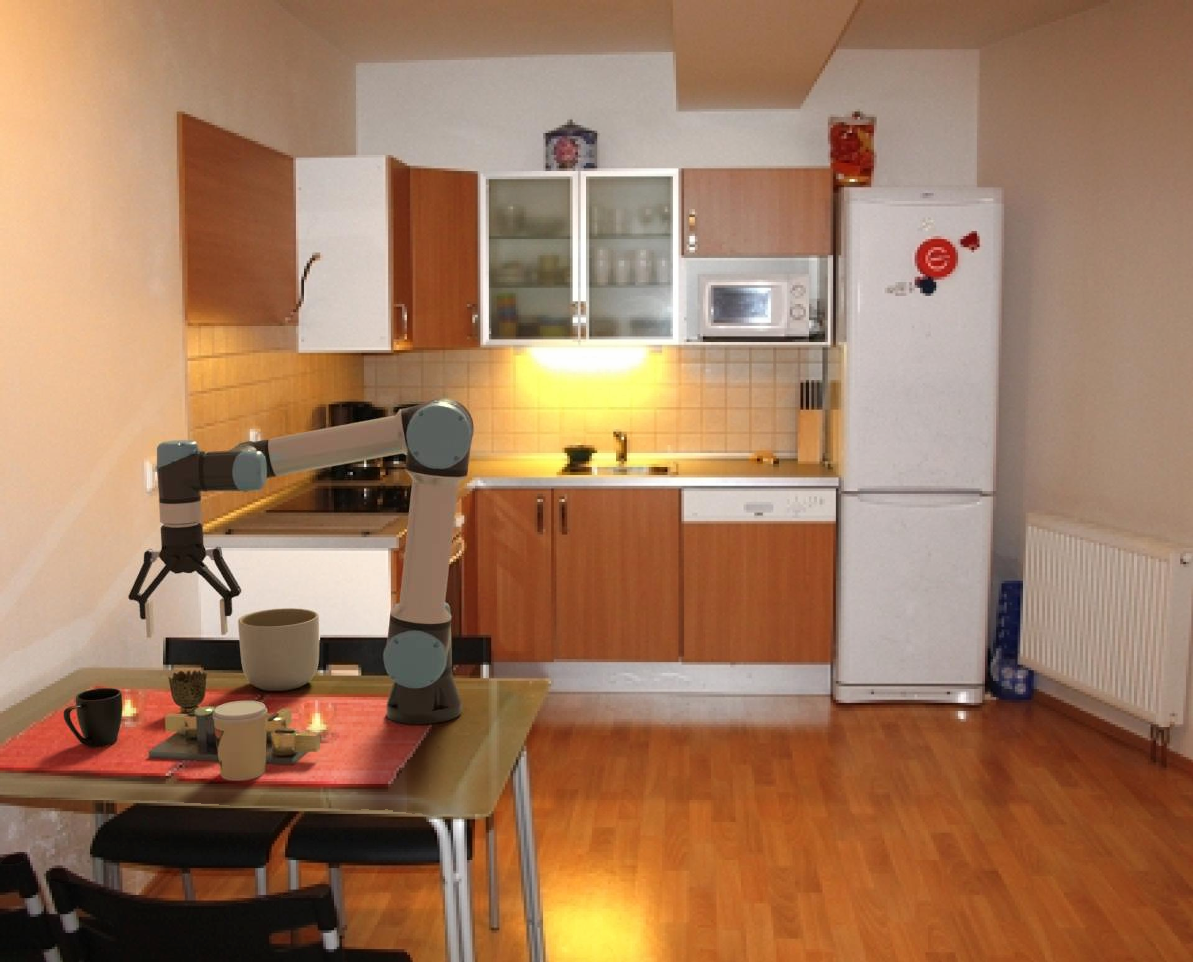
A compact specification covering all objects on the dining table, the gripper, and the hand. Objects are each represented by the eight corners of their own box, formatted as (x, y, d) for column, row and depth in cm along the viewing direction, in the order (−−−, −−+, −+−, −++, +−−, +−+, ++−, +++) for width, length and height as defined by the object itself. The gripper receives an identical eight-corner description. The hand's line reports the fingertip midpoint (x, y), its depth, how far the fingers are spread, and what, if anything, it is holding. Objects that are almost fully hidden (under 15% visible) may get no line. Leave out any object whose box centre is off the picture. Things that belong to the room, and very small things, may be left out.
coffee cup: (222, 764, 238) (218, 700, 237) (274, 762, 239) (271, 698, 237) (210, 783, 229) (207, 717, 227) (265, 781, 230) (261, 715, 228)
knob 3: (267, 754, 239) (266, 733, 238) (278, 745, 244) (277, 725, 243) (313, 756, 237) (312, 736, 237) (323, 747, 242) (322, 727, 242)
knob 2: (281, 740, 246) (280, 720, 246) (256, 739, 247) (255, 719, 246) (299, 725, 255) (298, 706, 254) (275, 724, 256) (274, 705, 255)
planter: (299, 669, 299) (297, 604, 297) (335, 686, 286) (332, 618, 284) (228, 683, 288) (225, 616, 286) (261, 701, 275) (258, 631, 273)
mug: (52, 751, 246) (49, 702, 245) (104, 732, 257) (101, 685, 255) (82, 758, 242) (78, 708, 241) (133, 739, 253) (130, 691, 251)
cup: (197, 719, 264) (195, 680, 263) (163, 717, 266) (161, 679, 265) (215, 708, 271) (213, 670, 270) (182, 706, 273) (180, 668, 272)
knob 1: (217, 729, 253) (216, 709, 252) (205, 738, 248) (204, 718, 248) (174, 727, 254) (173, 708, 254) (161, 736, 250) (160, 716, 249)
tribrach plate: (321, 739, 251) (319, 698, 250) (292, 764, 238) (290, 722, 237) (184, 732, 256) (182, 693, 255) (149, 757, 242) (146, 715, 241)
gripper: (252, 518, 250) (258, 626, 253) (117, 522, 247) (124, 631, 250) (246, 524, 243) (252, 636, 245) (107, 529, 240) (114, 641, 243)
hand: (187, 634), depth 248 cm, fingers open, 13 cm apart
